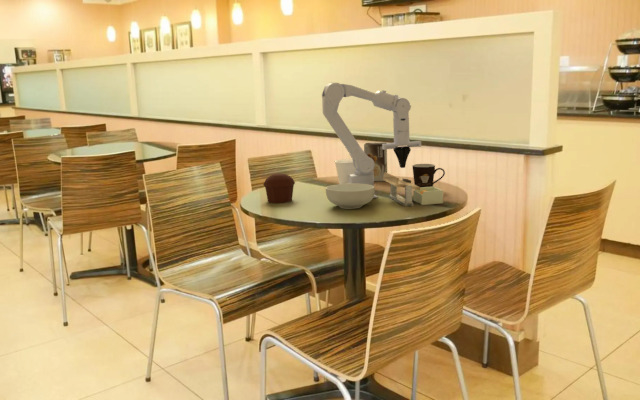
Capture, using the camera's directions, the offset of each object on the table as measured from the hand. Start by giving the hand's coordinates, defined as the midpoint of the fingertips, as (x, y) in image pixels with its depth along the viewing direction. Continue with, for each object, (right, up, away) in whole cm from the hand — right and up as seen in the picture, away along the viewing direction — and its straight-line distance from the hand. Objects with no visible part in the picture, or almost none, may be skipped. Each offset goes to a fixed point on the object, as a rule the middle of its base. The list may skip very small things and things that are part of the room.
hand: (402, 167), depth 217 cm
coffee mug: (+11, -9, +7) cm, 16 cm away
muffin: (-45, -13, -1) cm, 47 cm away
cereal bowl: (-20, -15, -15) cm, 29 cm away
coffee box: (-6, -4, +36) cm, 37 cm away
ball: (+6, -10, -12) cm, 17 cm away
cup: (-19, -7, +21) cm, 30 cm away
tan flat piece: (-2, -7, -11) cm, 13 cm away
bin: (+7, -13, -12) cm, 19 cm away
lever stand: (-2, -13, -9) cm, 16 cm away
